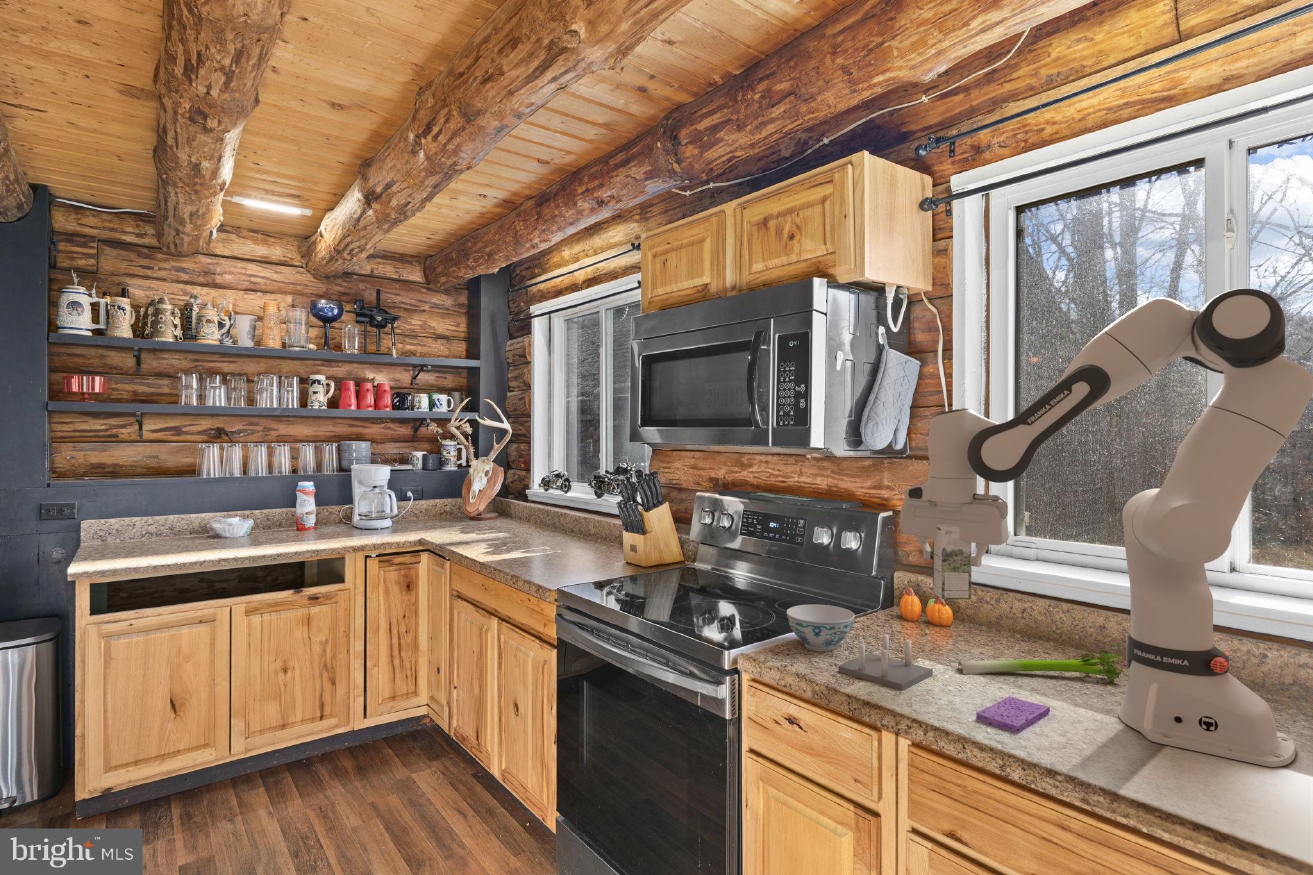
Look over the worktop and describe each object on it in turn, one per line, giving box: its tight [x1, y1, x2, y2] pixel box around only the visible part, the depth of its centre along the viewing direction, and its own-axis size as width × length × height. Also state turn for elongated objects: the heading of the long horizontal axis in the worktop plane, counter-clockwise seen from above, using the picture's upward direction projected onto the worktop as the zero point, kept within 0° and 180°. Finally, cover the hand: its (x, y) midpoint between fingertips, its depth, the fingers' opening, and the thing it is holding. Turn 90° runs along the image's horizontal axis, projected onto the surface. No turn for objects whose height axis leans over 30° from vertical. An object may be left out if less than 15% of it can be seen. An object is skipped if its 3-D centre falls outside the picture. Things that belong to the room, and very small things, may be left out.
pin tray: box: [837, 634, 934, 691], centre depth 141 cm, size 14×12×6 cm
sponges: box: [975, 695, 1051, 734], centre depth 120 cm, size 7×13×2 cm, turn 129°
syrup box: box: [932, 523, 973, 600], centre depth 137 cm, size 6×6×14 cm
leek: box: [957, 650, 1125, 683], centre depth 139 cm, size 6×7×30 cm
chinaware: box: [786, 604, 855, 652], centre depth 159 cm, size 15×15×8 cm
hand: (951, 562), depth 137 cm, fingers closed on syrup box, 8 cm apart
